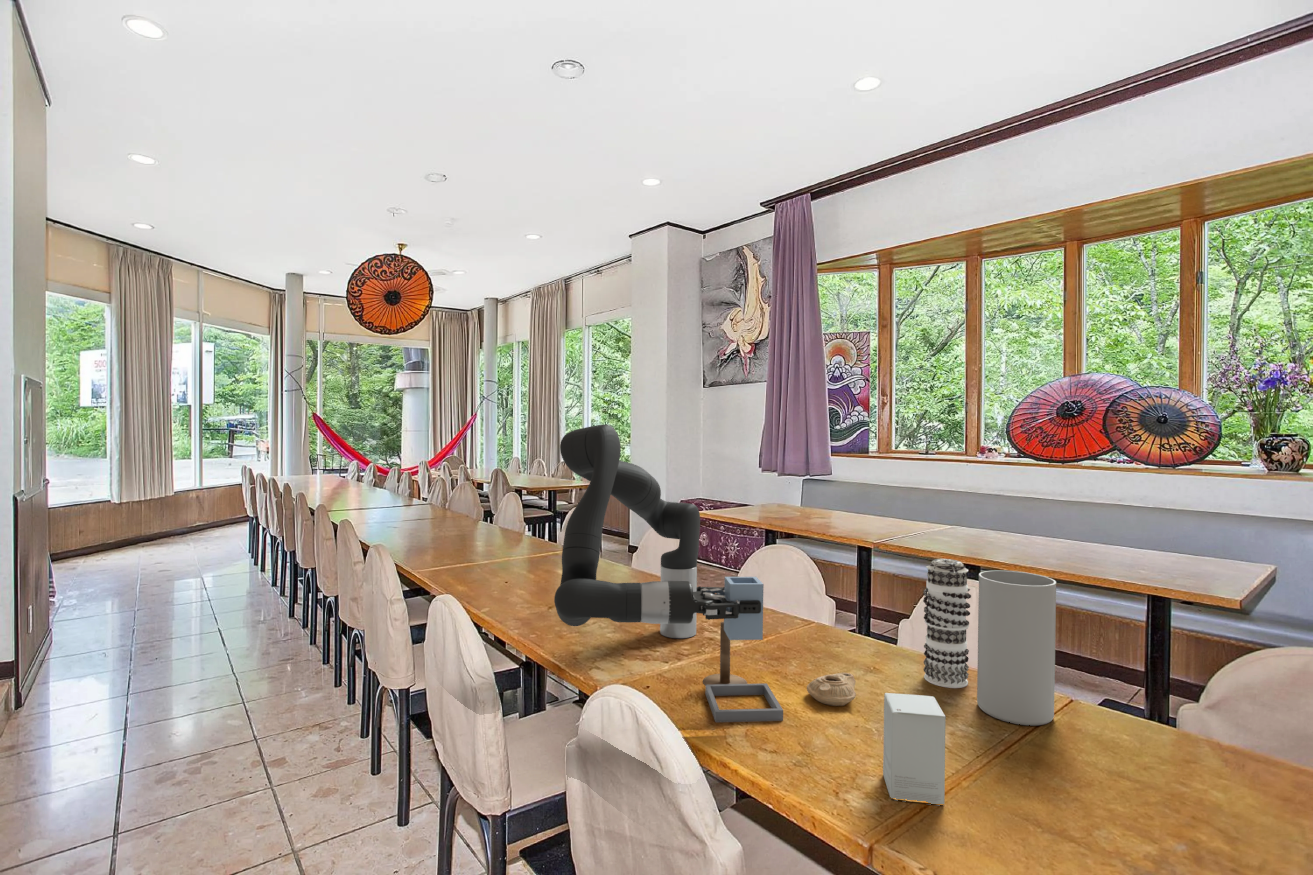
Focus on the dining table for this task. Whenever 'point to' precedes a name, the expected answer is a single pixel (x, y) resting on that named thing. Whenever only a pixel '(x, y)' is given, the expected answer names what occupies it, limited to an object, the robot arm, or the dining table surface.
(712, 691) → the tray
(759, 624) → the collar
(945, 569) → the decorative candle
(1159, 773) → the dining table surface
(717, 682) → the box
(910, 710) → the supplement box
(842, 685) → the pottery oil lamp
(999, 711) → the cylinder vase
